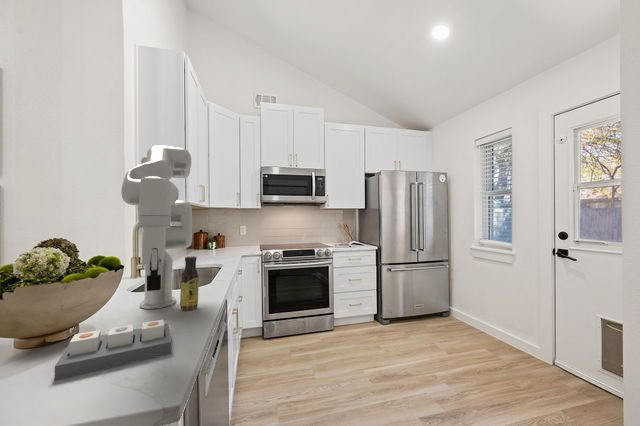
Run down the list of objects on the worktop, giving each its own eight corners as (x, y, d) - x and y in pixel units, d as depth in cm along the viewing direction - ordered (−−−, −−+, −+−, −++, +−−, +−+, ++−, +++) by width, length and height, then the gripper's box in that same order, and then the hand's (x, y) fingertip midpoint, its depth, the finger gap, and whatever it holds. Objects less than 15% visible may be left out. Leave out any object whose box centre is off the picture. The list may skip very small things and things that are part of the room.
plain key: (110, 343, 70) (110, 327, 70) (133, 339, 73) (133, 324, 73) (107, 351, 66) (107, 335, 66) (132, 346, 69) (132, 330, 69)
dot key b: (74, 350, 67) (75, 333, 67) (100, 345, 69) (100, 329, 69) (69, 359, 62) (69, 341, 63) (97, 353, 65) (97, 336, 65)
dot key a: (142, 337, 74) (142, 322, 74) (163, 333, 77) (163, 319, 77) (141, 344, 70) (141, 329, 70) (163, 340, 73) (164, 325, 73)
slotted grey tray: (71, 352, 70) (71, 340, 70) (168, 333, 81) (168, 323, 81) (54, 380, 58) (54, 366, 58) (170, 353, 69) (171, 341, 70)
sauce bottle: (190, 312, 100) (191, 258, 100) (176, 310, 101) (177, 257, 101) (201, 306, 106) (202, 256, 106) (188, 305, 107) (188, 255, 108)
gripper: (139, 222, 78) (138, 286, 77) (137, 222, 65) (135, 298, 65) (169, 222, 82) (168, 283, 81) (172, 222, 69) (171, 294, 69)
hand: (153, 289), depth 73 cm, fingers closed
